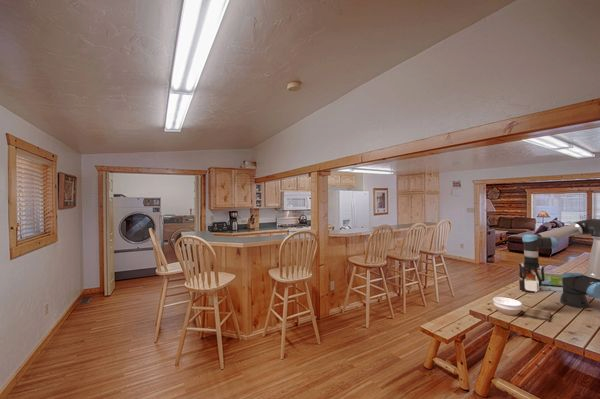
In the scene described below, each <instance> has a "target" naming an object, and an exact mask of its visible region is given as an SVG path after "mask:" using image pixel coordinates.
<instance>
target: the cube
mask: <svg viewBox="0 0 600 399" xmlns="http://www.w3.org/2000/svg"><path fill="white" fill-rule="evenodd" d="M525 284H526V290H530V291H535V292H536V293H537V292H538V291H537V280H536V281H533V280H526V281H525Z"/></svg>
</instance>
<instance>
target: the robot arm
mask: <svg viewBox="0 0 600 399" xmlns="http://www.w3.org/2000/svg"><path fill="white" fill-rule="evenodd" d="M581 235H582V236H583V235H587V236H588V235H590V238H592V240H593V242H592V245H591V250H590V255H589V259H588V263H587V267H586V272H584V273H582V272H581V273H580V272H563V273H562V284H563V292H562V293H561V296H560V298H559V302H560V303H561V304H563V305H565V306H568V307H569V306H570V307H574V308H577V309H578V308H580V309H589V308H590V307H591V304H590V302H589V300H588V297H591V298H595V299H599V300H600V219H599V218H587V219H584V220H579V221H574V222H572V223H570V224H568V225H565V226H561V227H558V228H553V229H550V230H547V231H543V232H539V233H534V234H531V233H530V234H524V235H523V236H522V238H521V239H522V243H523V255H524V257H523V259H524V260H523V261H524V262H522V263H521V262H520V263H519V264H518V265H519V273H518V278H519V277H520V278H522V279H523V283H525V281H526V280H527V279H525V278H526V275H527V273H528V270H531V271H534V274H535V276H536V279H537V278H538V281H537V280H536V281H537V292H539V291H540V288H539V286H541V282H542V281H545V276H544V271H545V269H546V268H545V266H544V265H543V266H542V265H540V263H539V249H557V248H558V245H559V241H558V240H559V239H560V240H561V239H564V238H568V237H572V236H581ZM523 267H526V271H525V273H524V275H523V276H522V270H523ZM538 268H539V269H540V271H541V276H542V279H541V278H540V276H539V273H538V271H539V270H538ZM525 289H526V284H525ZM587 296H588V297H587Z"/></svg>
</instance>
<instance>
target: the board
mask: <svg viewBox="0 0 600 399" xmlns="http://www.w3.org/2000/svg"><path fill="white" fill-rule="evenodd" d="M524 317H525V318H528V319H529V318H530V319H534V320H538V319H539V321H542V320H545V321H544V322H546V321H548V322H547V323H549V322H550V321H551V318H550V317H552V312H551V311H547V310H544V309H543V310H542V309H538V308H532V307H527V308H526V310H525V312H524Z"/></svg>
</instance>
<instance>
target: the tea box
mask: <svg viewBox="0 0 600 399" xmlns="http://www.w3.org/2000/svg"><path fill="white" fill-rule="evenodd" d="M537 271H538V273H539V276H540V278H541V279H542V276H541V270H537ZM562 274H563V273H562V272H559V271H553V270H552V271H550V270H549V271H548V270H544V276H545V281H542V282H541V286H539V289H540V288H541V290H542V291H553V292H554V291H555V292H562V293H563V284H562ZM536 281H538V278H537V277H536Z"/></svg>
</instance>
